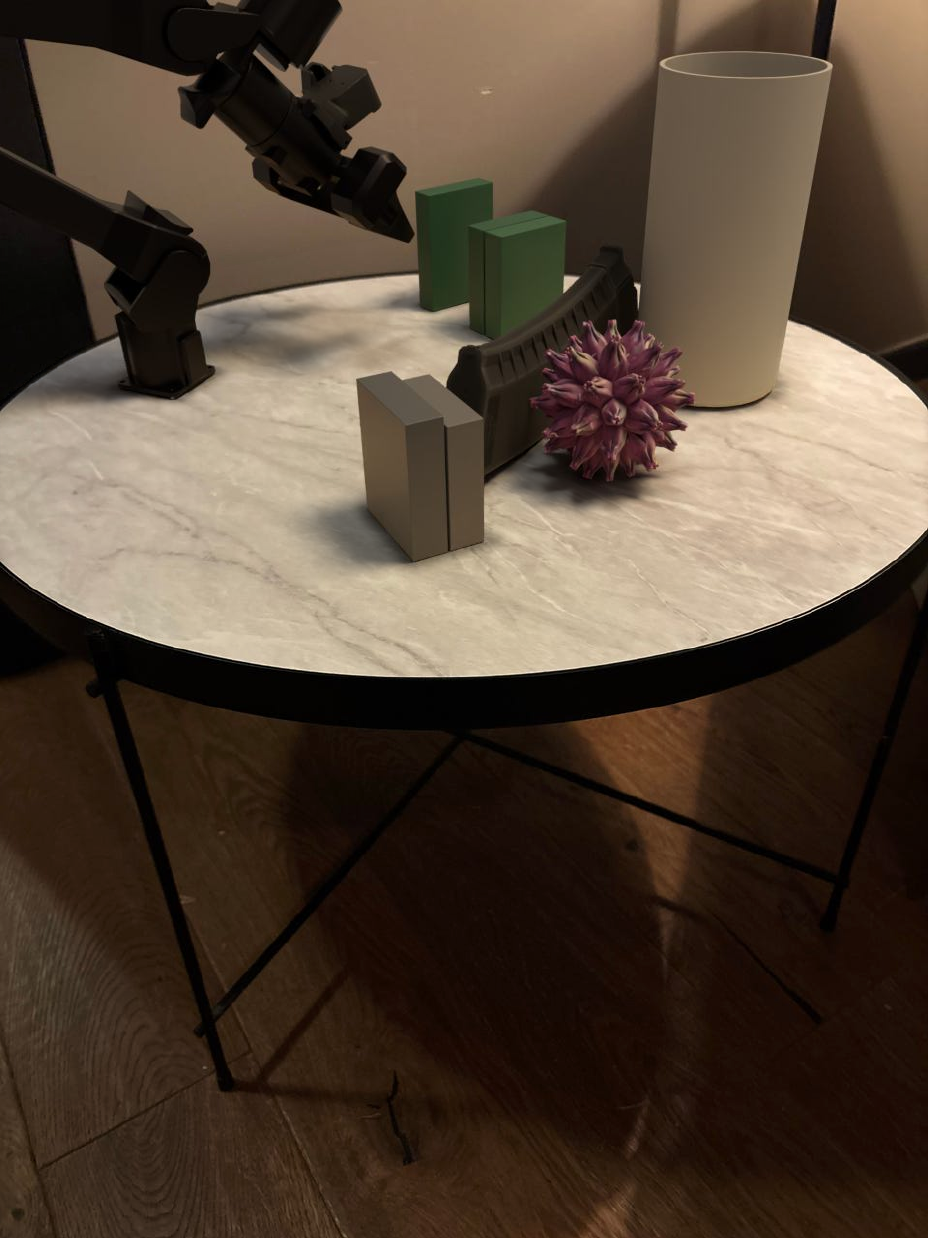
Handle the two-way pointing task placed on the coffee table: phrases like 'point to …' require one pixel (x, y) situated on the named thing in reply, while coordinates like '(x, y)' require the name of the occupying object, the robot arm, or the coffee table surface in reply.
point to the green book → (448, 239)
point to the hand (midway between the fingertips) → (383, 227)
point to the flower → (612, 400)
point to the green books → (514, 270)
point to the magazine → (539, 355)
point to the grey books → (422, 463)
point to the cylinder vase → (729, 214)
